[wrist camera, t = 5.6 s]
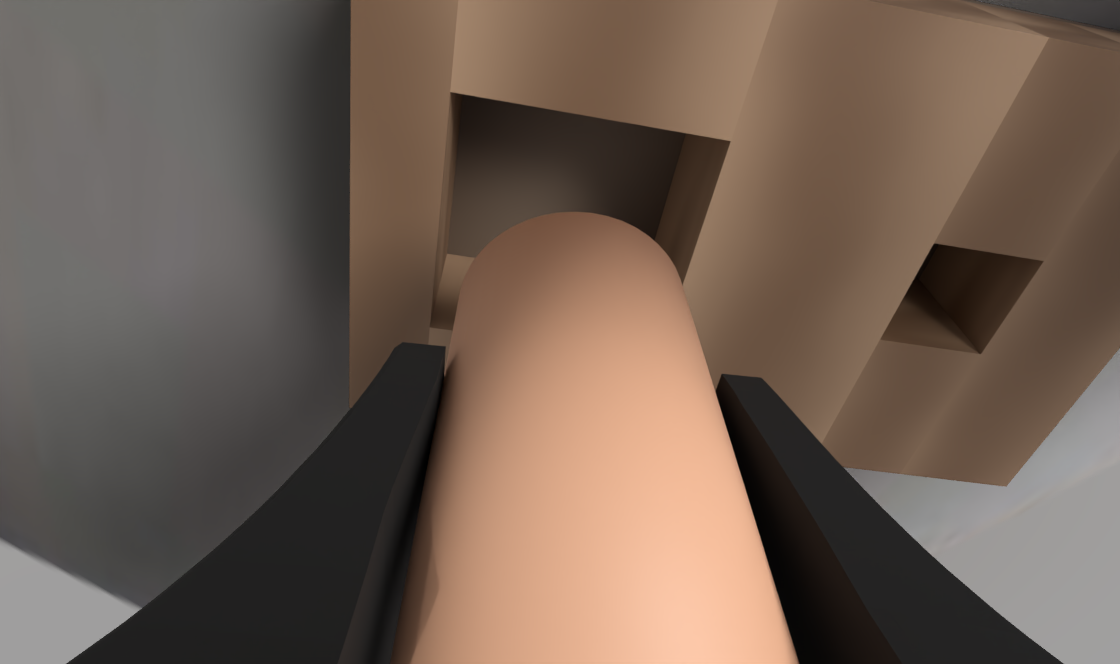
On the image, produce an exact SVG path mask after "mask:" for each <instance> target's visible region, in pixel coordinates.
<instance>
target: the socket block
mask: <svg viewBox="0 0 1120 664" xmlns="http://www.w3.org/2000/svg"><path fill="white" fill-rule="evenodd" d="M559 212H586V213H595V214H600V215H605V216H609V217H612V218H615V219H618V220H621V221H624V222H626V223H628V224H630V225H632V226H634V227H636V228H638V229H639V230H641V231H642V232H644V233H645V234H647V235H648V236H649V237H651V238H652V239H653V240H654V241H655V242H656V243H657V244H659V245H660V247H661V248H662V249H663V250H664V251H665V252H666V254H667V255H668V256H669V258H670V259H671V261H672V262H673V264H674V266H675V267H676V270H677V272H678V274H679V277H680V279H681V282H682V286H683V289H684V292H685V295H686V299H687V302H688V305H689V308H690V312H691V315H692V318H693V321H694V324H695V328H696V331H697V334H698V337H699V341H700V344H701V347H702V350H703V354H704V357H705V360H706V363H707V366H708V370H709V373H710V376H711V379H712V383H713V386H714V389H715V391H716V388H717V385H718V383H719V380H720V377H721V374H730V375H740V376H750V377H761V378H762V379H763V380H764V381H765V382H766V383H767V384H768V385H769V386H770V387H771V388H772V389H773V390H774V391H775V392H776V393H777V394H778V396H779V397H780V398H781V399H782V400H783V401H784V402H785V403H786V404H787V406H788V407H789V408H790V409H791V410H792V411H793V412H794V413H795V415H796V416H797V417H798V418H799V419H800V420H801V421H802V422H803V424H804V425H805V426H806V427H807V428H808V429H809V430H810V431H811V432H812V434H813V435H814V436H815V437H816V438H817V439H818V440H819V441H820V443H821V444H822V445H823V446H824V447H825V448H826V449H827V450H828V451H829V452H830V454H831V455H832V456H833V457H834V458H835V459H836V460H837V461H838V462H839V463H840V464H841V465H842V467H847V468H856V469H864V470H872V471H881V472H889V473H897V474H906V475H914V476H923V477H931V478H939V479H948V480H956V481H964V482H973V483H981V484H989V485H998V486H1007V485H1008V484H1009V482H1010V481H1011V480H1012V479H1013V478H1014V476H1015V475H1016V474H1017V473H1018V471H1019V470H1020V469H1021V468H1022V467H1023V465H1024V464H1025V463H1026V462H1027V460H1028V459H1029V458H1030V457H1031V456H1032V454H1033V453H1034V452H1035V451H1036V449H1037V448H1038V447H1039V446H1040V445H1041V443H1042V442H1043V441H1044V440H1045V438H1046V437H1047V436H1048V435H1049V434H1050V432H1051V431H1052V430H1053V429H1054V427H1055V426H1056V425H1057V424H1058V423H1059V421H1060V420H1061V419H1062V418H1063V417H1064V415H1065V414H1066V413H1067V412H1068V410H1069V409H1070V408H1071V407H1072V406H1073V404H1074V403H1075V402H1076V401H1077V399H1078V398H1079V397H1080V396H1081V395H1082V393H1083V392H1084V391H1085V390H1086V388H1087V387H1088V386H1089V385H1090V384H1091V382H1092V381H1093V380H1094V379H1095V377H1096V376H1097V375H1098V374H1099V373H1100V371H1101V370H1102V369H1103V368H1104V366H1105V365H1106V364H1107V363H1108V362H1109V360H1110V359H1111V358H1112V357H1113V355H1114V354H1115V353H1116V352H1117V351H1118V349H1119V348H1120V31H1118V30H1113V29H1108V28H1104V27H1099V26H1094V25H1089V24H1085V23H1080V22H1075V21H1070V20H1065V19H1061V18H1056V17H1051V16H1046V15H1042V14H1037V13H1032V12H1027V11H1022V10H1018V9H1013V8H1008V7H1003V6H998V5H994V4H989V3H984V2H979V1H975V0H351V77H350V321H349V408H352V407H353V405H354V404H355V403H356V402H357V400H358V399H359V398H360V396H361V395H362V394H363V393H364V391H365V390H366V389H367V387H368V386H369V385H370V383H371V382H372V381H373V379H374V378H375V377H376V375H377V374H378V372H379V371H380V369H381V368H382V366H383V365H384V364H385V362H386V361H387V359H388V358H389V356H390V354H391V353H392V351H393V349H394V348H395V347H396V346H398V345H399V344H401V343H402V342H407V343H417V344H427V345H437V346H446V352H445V369H446V363H447V358H448V353H449V347H450V342H451V337H452V331H453V326H454V321H455V315H456V310H457V305H458V299H459V294H460V289H461V286H462V283H463V280H464V277H465V275H466V273H467V271H468V269H469V267H470V265H471V264H472V262H473V261H474V259H475V258H476V257H477V255H478V254H479V253H480V252H481V251H482V250H483V248H484V247H485V246H486V245H487V244H488V243H489V242H491V241H492V240H493V239H494V238H496V237H497V236H498V235H500V234H501V233H503V232H504V231H506V230H508V229H509V228H511V227H513V226H515V225H517V224H519V223H522V222H524V221H526V220H529V219H532V218H535V217H539V216H542V215H547V214H553V213H559ZM444 374H445V371H444Z"/></svg>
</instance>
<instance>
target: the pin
mask: <svg viewBox="0 0 1120 664" xmlns="http://www.w3.org/2000/svg"><path fill="white" fill-rule="evenodd" d="M390 664H799V661H798V657H797V654H796V651H795V648H794V644H793V641H792V638H791V635H790V632H789V628H788V625H787V622H786V619H785V615H784V612H783V609H782V606H781V602H780V599H779V596H778V593H777V589H776V586H775V583H774V580H773V577H772V573H771V570H770V567H769V564H768V560H767V557H766V554H765V551H764V547H763V544H762V541H761V538H760V535H759V531H758V528H757V525H756V522H755V518H754V515H753V512H752V509H751V505H750V502H749V499H748V496H747V493H746V489H745V486H744V483H743V480H742V476H741V473H740V470H739V467H738V463H737V460H736V457H735V454H734V451H733V447H732V444H731V441H730V438H729V434H728V431H727V428H726V425H725V421H724V418H723V415H722V412H721V409H720V405H719V402H718V399H717V396H716V392H715V389H714V386H713V383H712V379H711V376H710V373H709V370H708V366H707V363H706V360H705V357H704V354H703V350H702V347H701V344H700V341H699V337H698V334H697V331H696V328H695V324H694V321H693V318H692V315H691V312H690V308H689V305H688V302H687V299H686V295H685V292H684V289H683V286H682V282H681V279H680V277H679V274H678V272H677V270H676V267H675V266H674V264H673V262H672V261H671V259H670V258H669V256H668V255H667V254H666V252H665V251H664V250H663V249H662V248H661V247H660V245H659V244H657V243H656V242H655V241H654V240H653V239H652V238H651V237H649V236H648V235H647V234H645V233H644V232H642V231H641V230H639V229H638V228H636V227H634V226H632V225H630V224H628V223H626V222H624V221H621V220H618V219H615V218H612V217H609V216H605V215H600V214H595V213H586V212H559V213H553V214H547V215H542V216H539V217H535V218H532V219H529V220H526V221H524V222H522V223H519V224H517V225H515V226H513V227H511V228H509V229H508V230H506V231H504V232H503V233H501V234H500V235H498V236H497V237H496V238H494V239H493V240H492V241H491V242H489V243H488V244H487V245H486V246H485V247H484V248H483V250H482V251H481V252H480V253H479V254H478V255H477V257H476V258H475V259H474V261H473V262H472V264H471V265H470V267H469V269H468V271H467V273H466V275H465V277H464V280H463V283H462V286H461V289H460V294H459V299H458V305H457V310H456V315H455V321H454V326H453V331H452V337H451V342H450V347H449V353H448V358H447V363H446V369H445V374H444V381H443V386H442V392H441V397H440V402H439V408H438V413H437V418H436V424H435V428H434V432H433V438H432V443H431V448H430V454H429V459H428V464H427V469H426V475H425V480H424V485H423V491H422V496H421V501H420V507H419V512H418V517H417V523H416V528H415V533H414V539H413V544H412V549H411V554H410V560H409V565H408V570H407V576H406V581H405V586H404V592H403V597H402V602H401V608H400V613H399V618H398V624H397V629H396V634H395V639H394V645H393V650H392V655H391V661H390Z"/></svg>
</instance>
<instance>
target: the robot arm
mask: <svg viewBox="0 0 1120 664" xmlns="http://www.w3.org/2000/svg"><path fill="white" fill-rule="evenodd" d="M445 352H446V346H437V345H427V344H417V343H407V342H402V343H401V344H399V345H398V346H396V347H395V348H394V349H393V351H392V353H391V354H390V356H389V358H388V359H387V361H386V362H385V364H384V365H383V366H382V368H381V369H380V371H379V372H378V374H377V375H376V377H375V378H374V379H373V381H372V382H371V383H370V385H369V386H368V387H367V389H366V390H365V391H364V393H363V394H362V395H361V396H360V398H359V399H358V400H357V402H356V403H355V404H354V405H353V407H352V408H351V409H350V410H349V411H348V413H347V414H346V415H345V416H344V417H343V419H342V420H341V421H340V422H339V423H338V425H337V426H336V427H335V428H334V429H333V431H332V432H331V433H330V434H329V435H328V437H327V438H326V439H325V440H324V441H323V442H322V444H321V445H320V446H319V447H318V448H317V449H316V450H315V451H314V452H313V453H312V454H311V456H310V457H309V458H308V459H307V460H306V461H305V462H304V463H303V464H302V465H301V466H300V467H299V468H298V469H297V470H296V471H295V472H294V474H293V475H292V476H291V477H290V478H289V479H288V480H287V481H286V482H285V483H284V484H283V485H282V486H281V487H280V488H279V489H278V490H277V491H276V492H275V493H274V494H273V495H272V496H271V497H270V498H269V499H268V500H267V501H266V502H265V503H264V504H263V505H262V506H261V507H260V508H259V509H258V510H257V511H256V512H255V513H254V514H253V515H252V516H251V517H249V518H248V519H247V520H246V521H245V522H244V523H243V524H242V525H241V526H240V527H239V528H238V529H236V530H235V531H234V532H233V533H232V534H231V535H230V536H229V537H228V538H226V539H225V540H224V541H223V542H222V543H221V544H220V545H219V546H218V547H216V548H215V549H214V550H213V551H212V552H211V553H209V554H208V555H207V556H206V557H205V558H203V559H202V560H201V561H200V562H199V563H197V564H196V565H195V566H194V567H193V568H191V569H190V570H189V571H188V572H187V573H185V574H184V575H183V576H182V577H181V578H179V579H178V580H177V581H176V582H174V583H173V584H172V585H171V586H170V587H168V588H167V589H166V590H165V591H164V592H162V593H161V594H160V595H159V596H157V597H156V598H155V599H154V600H152V601H151V602H150V603H148V604H147V605H146V606H145V607H143V608H142V609H141V610H139V611H138V612H137V613H136V614H134V615H133V616H132V617H130V618H129V619H128V620H127V621H125V622H124V623H122V624H121V625H120V626H119V627H117V628H116V629H114V630H113V631H112V632H110V633H109V634H107V635H106V636H104V637H103V638H102V639H100V640H99V641H97V642H96V643H95V644H93V645H92V646H91V647H89V648H88V649H86V650H85V651H83V652H82V653H81V654H79V655H78V656H77V657H75V658H74V659H72V660H71V661H69V662H68V663H67V664H390V661H391V655H392V650H393V645H394V639H395V634H396V629H397V624H398V618H399V613H400V608H401V602H402V597H403V592H404V586H405V581H406V576H407V570H408V565H409V560H410V554H411V549H412V544H413V539H414V533H415V528H416V523H417V517H418V512H419V507H420V501H421V496H422V491H423V485H424V480H425V475H426V469H427V464H428V459H429V454H430V448H431V443H432V438H433V432H434V428H435V424H436V418H437V413H438V408H439V402H440V397H441V392H442V386H443V381H444V371H445ZM715 392H716V396H717V399H718V402H719V405H720V409H721V412H722V415H723V418H724V421H725V425H726V428H727V431H728V434H729V438H730V441H731V444H732V447H733V451H734V454H735V457H736V460H737V463H738V467H739V470H740V473H741V476H742V480H743V483H744V486H745V489H746V493H747V496H748V499H749V502H750V505H751V509H752V512H753V515H754V518H755V522H756V525H757V528H758V531H759V535H760V538H761V541H762V544H763V547H764V551H765V554H766V557H767V560H768V564H769V567H770V570H771V573H772V577H773V580H774V583H775V586H776V589H777V593H778V596H779V599H780V602H781V606H782V609H783V612H784V615H785V619H786V622H787V625H788V628H789V632H790V635H791V638H792V641H793V644H794V648H795V651H796V654H797V657H798V661H799V664H1063V663H1062V662H1061V661H1059V660H1058V659H1057V658H1055V657H1054V656H1053V655H1051V654H1050V653H1049V652H1047V651H1046V650H1045V649H1043V648H1042V647H1041V646H1039V645H1038V644H1037V643H1035V642H1034V641H1033V640H1031V639H1030V638H1029V637H1028V636H1026V635H1025V634H1024V633H1022V632H1021V631H1020V630H1019V629H1017V628H1016V627H1015V626H1014V625H1012V624H1011V623H1010V622H1008V621H1007V620H1006V619H1005V618H1004V617H1002V616H1001V615H1000V614H999V613H997V612H996V611H995V610H994V609H993V608H992V607H990V606H989V605H988V604H987V603H986V602H984V601H983V600H982V599H981V598H980V597H979V596H977V595H976V594H975V593H974V592H973V591H971V590H970V589H969V588H968V587H967V586H965V584H963V583H962V582H961V581H960V580H959V579H958V578H956V577H955V576H954V575H953V574H951V572H949V571H948V570H947V569H946V568H945V567H944V566H943V565H941V564H940V563H939V562H938V561H937V560H936V559H935V558H934V557H933V556H932V555H931V554H929V553H928V552H927V551H926V550H925V549H924V548H923V547H922V546H921V545H920V544H919V543H918V542H917V541H916V540H915V539H914V538H913V537H911V536H910V535H909V534H908V533H907V532H906V531H905V530H904V529H903V528H902V527H901V526H900V525H899V524H898V523H897V522H896V521H895V520H894V519H893V518H892V517H891V516H890V515H889V514H888V513H887V512H886V511H885V510H884V509H883V508H882V507H881V506H880V505H879V504H878V503H877V502H876V501H875V500H874V499H873V498H872V497H871V496H870V495H869V494H868V493H867V492H866V491H865V490H864V489H863V488H862V487H861V486H860V485H859V484H858V483H857V482H856V480H855V479H854V478H853V477H852V476H851V475H850V474H849V473H848V472H847V471H846V470H845V469H844V468H843V467H842V465H841V464H840V463H839V462H838V461H837V460H836V459H835V458H834V457H833V456H832V455H831V454H830V452H829V451H828V450H827V449H826V448H825V447H824V446H823V445H822V444H821V443H820V441H819V440H818V439H817V438H816V437H815V436H814V435H813V434H812V432H811V431H810V430H809V429H808V428H807V427H806V426H805V425H804V424H803V422H802V421H801V420H800V419H799V418H798V417H797V416H796V415H795V413H794V412H793V411H792V410H791V409H790V408H789V407H788V406H787V404H786V403H785V402H784V401H783V400H782V399H781V398H780V397H779V396H778V394H777V393H776V392H775V391H774V390H773V389H772V388H771V387H770V386H769V385H768V384H767V383H766V382H765V381H764V380H763V379H762V378H761V377H750V376H740V375H730V374H721V377H720V380H719V383H718V385H717V388H716V391H715Z"/></svg>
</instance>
